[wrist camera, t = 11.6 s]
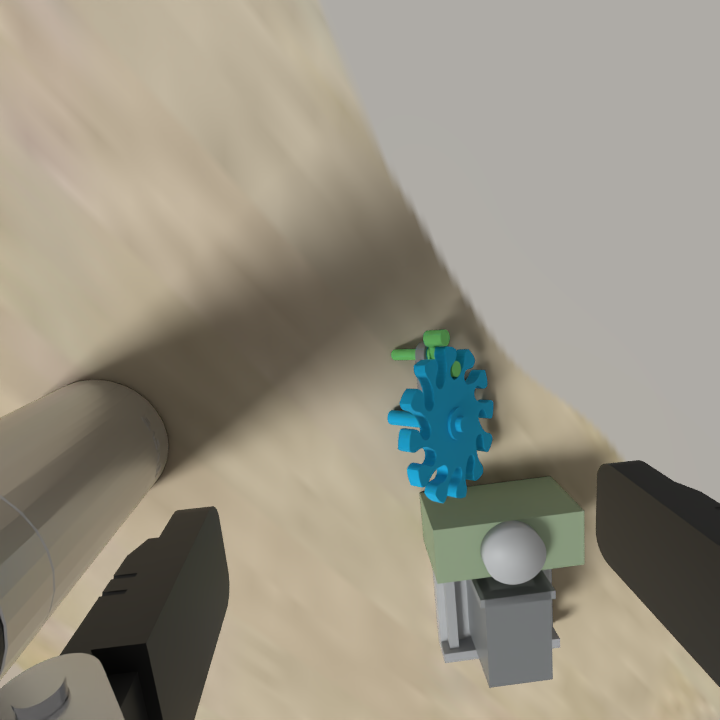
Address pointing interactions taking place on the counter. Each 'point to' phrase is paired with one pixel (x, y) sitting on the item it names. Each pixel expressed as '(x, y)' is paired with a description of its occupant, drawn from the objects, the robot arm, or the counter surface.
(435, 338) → the gear
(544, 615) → the grey lidded bin
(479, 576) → the drawer with ball knob
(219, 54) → the counter surface
